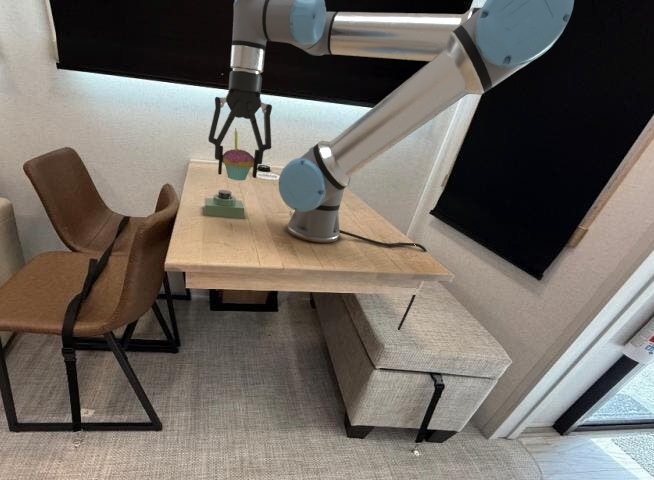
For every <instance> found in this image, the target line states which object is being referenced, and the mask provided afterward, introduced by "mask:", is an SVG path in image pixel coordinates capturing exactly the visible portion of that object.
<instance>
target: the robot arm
mask: <svg viewBox="0 0 654 480" xmlns="http://www.w3.org/2000/svg"><path fill="white" fill-rule="evenodd" d="M574 3H575V0H486V1H485V2H484V4H483V5H482V6H481V7H471V8H470V9H468V10H467V11H466V12H465V13H463V14H462V13H461V14H457V13H409V12H408V13H407V12H367V11H366V12H365V11H364V12H363V11H362V12H361V11H356V12H355V11H338V12H337V11H327V7H326V1H325V0H234V2H233V7H232V8H233V22H232V25H233V26H232V39H231V40H232V41H231V50H230V62H229V66H230V68H231V69H232V70H230V72H229V76H228V77H229V79H228V91H227V94H226V96H224V97H223V96H221V97H220V96H216V97H214V107H215V108H214V112H213V115H212V117H213V118H212V120H211V125H210V128H209V129H210V130H209V133H208V139H207V140H208V142H209V143H211V144H212V145H214V159H215V161H218V167H217V168H218V169H217V174H218V175H222V173H223V172H222V170H223V163H222V158H223V155H224V146H223V145H222V143H223V141H224V139H225V137H226V135H227V133H228V131H229V129H230V127H231V125H232V123H233V122H234V120H235V118H237V119H242V118H244V119H246V120H249V123H250V126H251V129H252V131H253V135H254V139H255V142H256V146H257V149H254V155H253V157H254V166H253V167H252V178H253V179H257V176H258V175H257V174H258V169H259V168H258V167H259V165H262V164H263V160H264V159H263V158H264V152H265V151H269V150H271V149H272V129H271V113H272V110H273V105H272V104H270V103H265V102H262V99H261V91H262V82H263V77H262V75H261V73H263V72H264V65H265V55H266V46H267V41H268V42H277V43H286V44H291V45H293V46H295V47H297V48H299V49H301V50H303V51H304V52H306V53H307V54H308V55H311V56H316V57H317V56H323V55H340V56H353V57H365V58H366V57H368V58H379V59H381V58H382V59H394V60H395V59H396V60H407V61H422V62H424V61H425V62H428V63H426V64H425V65H424V66H423V67H421V68H420V69H419V70H418V71H417V72H415V73H414V74H412V75H411V76H410V77H409V78H408V79H406V80H405V81H404V82H403V83H402V84H401V85H399V86H398V87H396V88H395V89H394V90H393V91H392V92H390V93H389V94H388V95H387V96H385V97H384V98H383V99H382V100H381V101H380V102H378V103H377V104H376V105H374V106H373V107H372V108H371V109H369V110H368V111H367V112H366V113H364V114H363V115H362V116H361V117H360V118H358V119H357V120H356V121H355V122H354V123H352V124H351V125H349V126H348V127H347V128H345V130H343V131H342V132H341V133H339V135H337V136H335V138H334V139H332V140H331V141H325V140H321V141H319V142H318V143H316V144H315V145H314V146H311V147H310V148H309V149H308V151H307V152H306V153H304V154H303V155H302V156H301V157H299V158H294V159H292V160H290V161H289V162H288V163H287V164H286V165H285V166H284V167H283V168H282V170H281V172H280V174H279V178H278V191H279V194H280V197H281V199H282V201H283V202H284V204H285V205H286V206H287V207H288V208H290V209H291V210H289V217H290V219H289V220H288V223H287V231H288V233H289V234H290V235H292V236H293V237H295V238H298V239H301V240H303V241H307V242H311V243H312V242H313V243H318V244H319V243H320V244H321V243H322V244H327V243H328V244H329V243H333V242H336V241H338V239H339V237H340V234H343V235H346V236H348V237H352V238H355V239H358V240H361V241H364V242H369V243H371V244H375V245H379V246H384V247H396V246H403V247H404V246H405V247H418V248H419V249H421V250H422V251H423V252H425V253H427V252H428V250H427V248H426V247H425V246H424V245H422V244H421V243H414V242H403V241H402V242H393V243H392V242H391V243H390V242H382V241H378V240H374V239H370V238H367V237H363V236H361V235H358V234H355V233H352V232H349V231H345V230H342V229H340V216H339V215H340V214H339V211H340V207H341V203H342V200H343V196H344V191H345V189H346V188H347V187H348V186H349V185H350V182H351V178H352V176H353V175H354V174H356V173H357V172H358V171H360V170H361V169H363V168H364V167H365V166H367V165H368V164H370V163H372V161H374V160H376V159H377V158H379V157H380V156H382V155H383V154H384V153H386V152H387V151H388V150H389V149H391V148H393V147H394V146H395V145H398V144H399V143H400V142H401V141H403V140H404V139H406V138H407V137H408V136H410V135H411V134H412V133H414V132H416V131H417V130H419V129H420V128H421V127H423V126H424V125H425V124H427V123H429V122H430V121H431V120H433V119H434V118H435V117H437V116H438V115H440V114H441V113H442V112H444V111H445V110H447V109H448V108H450V107H451V106H453V105H454V104H456V103H457V102H458V101H460V100H461V99H463V98H464V97H465V96H467V95H477V96H478V95H480V96H482V95H483V94H485V93H486V92H487V91H489V90H491V89H492V88H494V87H495V86H497V85H498V84H500V83H501V82H503V81H504V80H506V79H507V78H508V77H511V75H513V74H514V73H516V72H517V71H519V70H521V69H523V68H524V67H526V66H527V65H529V64H530V63H532V62H533V61H534V60H536V59H538V58H539V57H541V56H542V55H544V54H545V53H546V52H547V51H548V50H549V49H551V48H552V47H553V46H554V44H555V43H556V42H557V41H558V40H559V38H560V36H561V35H562V34H563V32H564V30H565V28H566V26H567V25H568V23H569V20H570V18H571V16H572V13H573V10H574ZM225 103H226V104H227V107H228V108H229V110H230V112H229V114H228V115H227V118H226V120H225V121H224V123H223V125H222V127H221V130H220V131H219V134H218V135H217V138H215V136H216V131H217V128H218V123H219V119H220V115H221V111H222V108H224V106H225ZM260 108H261V113H262V114H263V129H264V143H263V139H262V136H261V132H260V127H259V126H258V121H257V118H256V115H255V114H257V112H258V110H259V109H260ZM292 210H294V212H292ZM414 244H415V245H416V246H415V245H414ZM416 296H417V294H416V295H413V294H412V296H411V298H410V301H409V303H408V305H407V308H406V310H405V312H404V313H403V316H402V318H401V321H400V323H399V325H398V326H397V329H398V330H401V329H402V326H403V325H404V322H405V321H406V318H407V316H408V314H409V312H410V310H411V308H412V305H413V303H414V301H415V298H416Z"/></svg>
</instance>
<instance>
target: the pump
mask: <svg viewBox="0 0 654 480" xmlns="http://www.w3.org/2000/svg"><path fill="white" fill-rule="evenodd" d="M217 192H218V193H217V194H218V198H221V199H231V195H232V191H230V190H227V189H220V190H218V191H217Z"/></svg>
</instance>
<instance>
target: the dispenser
mask: <svg viewBox="0 0 654 480" xmlns="http://www.w3.org/2000/svg"><path fill="white" fill-rule="evenodd" d="M204 216H207V217H221V218H233V219H235V218H236V219H244V217H245V206H244V203H243V201H242V200H237V197H236V196H234V195H232V194H231V199H221V198H218V193H216V194H213V196H212V197H204Z"/></svg>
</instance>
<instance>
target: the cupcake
mask: <svg viewBox="0 0 654 480" xmlns="http://www.w3.org/2000/svg"><path fill="white" fill-rule="evenodd" d="M222 164H223V165H224V166H225V169H226V174H227V175H226V176H227V178H228V179H229V180H233V181H245V180H246V179H247V177H248V174H249V172H250V171H251V169H252V168H253V166H254V155H251V153H250V152H248V151H246V150H244V149H239V148H238V131H237V127H235V130H234V149H232V148H231V149H230V150H226V151H225V152H223V158H222Z"/></svg>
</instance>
